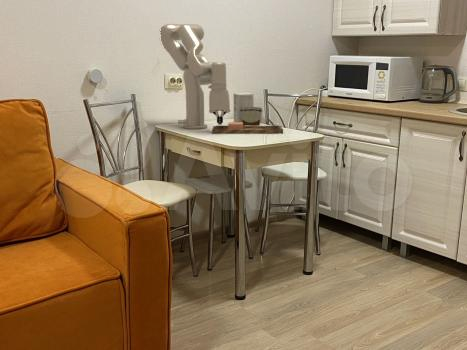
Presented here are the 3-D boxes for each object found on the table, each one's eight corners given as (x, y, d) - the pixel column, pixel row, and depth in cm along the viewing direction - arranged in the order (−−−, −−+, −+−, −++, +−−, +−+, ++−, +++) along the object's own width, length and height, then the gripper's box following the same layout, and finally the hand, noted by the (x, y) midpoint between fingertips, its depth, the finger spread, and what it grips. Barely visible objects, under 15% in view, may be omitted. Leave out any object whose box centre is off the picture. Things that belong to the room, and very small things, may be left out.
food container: (262, 125, 283) (263, 107, 281) (262, 126, 277) (262, 108, 275) (240, 124, 284) (240, 106, 282) (239, 126, 278) (239, 108, 276)
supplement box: (249, 122, 295) (249, 92, 291) (254, 124, 286) (254, 93, 282) (233, 122, 293) (233, 92, 289) (237, 125, 284) (237, 94, 280)
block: (228, 133, 258) (228, 124, 257) (229, 130, 265) (229, 122, 264) (242, 133, 258) (242, 124, 257) (243, 131, 264) (243, 122, 263)
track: (212, 133, 255) (212, 129, 255) (213, 129, 267) (213, 125, 267) (283, 133, 255) (283, 129, 254) (280, 129, 267) (281, 125, 267)
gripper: (203, 88, 252) (204, 125, 256) (233, 87, 252) (234, 125, 256) (204, 87, 260) (205, 124, 263) (234, 86, 259) (234, 123, 263)
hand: (220, 124), depth 260 cm, fingers closed
